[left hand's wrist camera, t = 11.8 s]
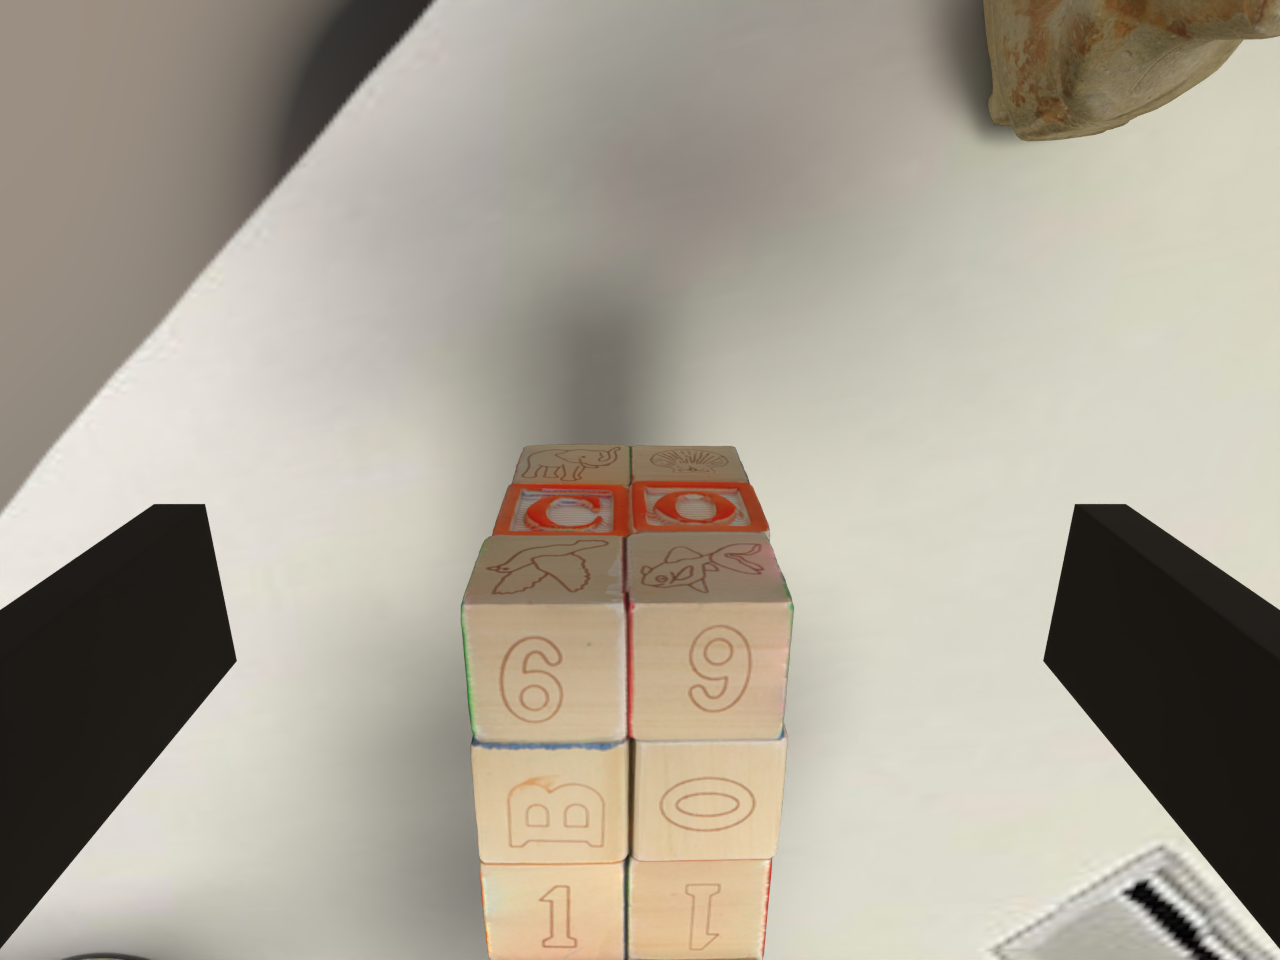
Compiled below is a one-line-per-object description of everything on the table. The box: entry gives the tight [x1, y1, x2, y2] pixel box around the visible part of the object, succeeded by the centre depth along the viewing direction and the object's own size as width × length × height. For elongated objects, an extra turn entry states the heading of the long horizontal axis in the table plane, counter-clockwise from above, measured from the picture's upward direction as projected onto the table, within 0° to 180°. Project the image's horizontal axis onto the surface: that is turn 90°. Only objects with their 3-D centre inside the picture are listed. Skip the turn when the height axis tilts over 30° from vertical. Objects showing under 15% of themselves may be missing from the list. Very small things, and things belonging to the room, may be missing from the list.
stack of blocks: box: [461, 444, 794, 960], centre depth 21 cm, size 21×6×12 cm, turn 179°
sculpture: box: [983, 0, 1280, 141], centre depth 25 cm, size 6×7×15 cm
